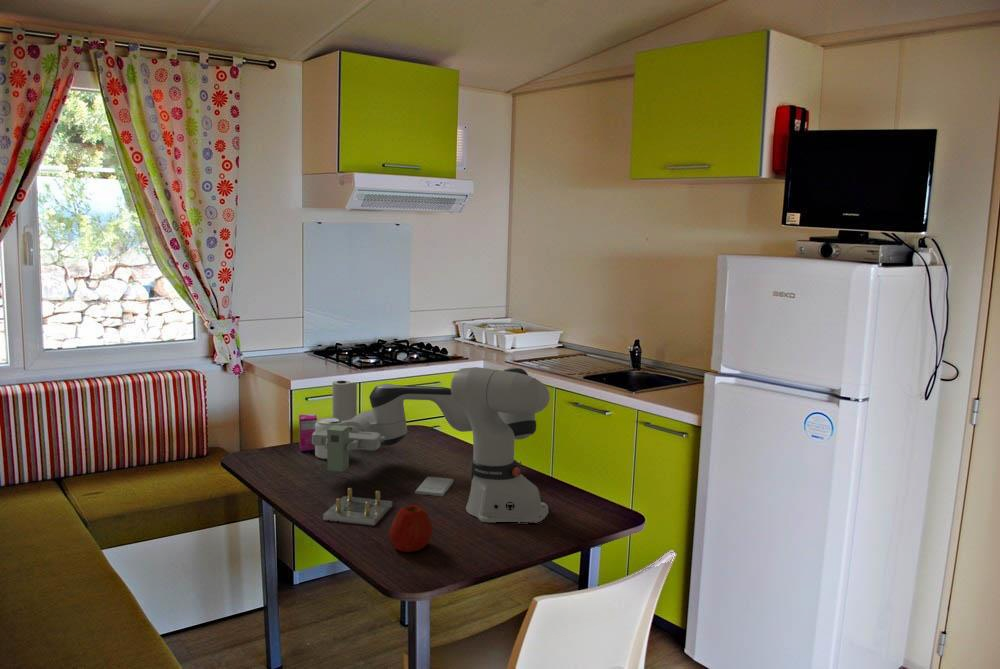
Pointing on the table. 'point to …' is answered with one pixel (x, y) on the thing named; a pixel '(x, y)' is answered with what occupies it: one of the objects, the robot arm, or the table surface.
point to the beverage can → (321, 422)
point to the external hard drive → (434, 486)
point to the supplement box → (307, 431)
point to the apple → (411, 529)
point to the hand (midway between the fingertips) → (336, 447)
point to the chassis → (358, 509)
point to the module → (337, 448)
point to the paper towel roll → (344, 400)
